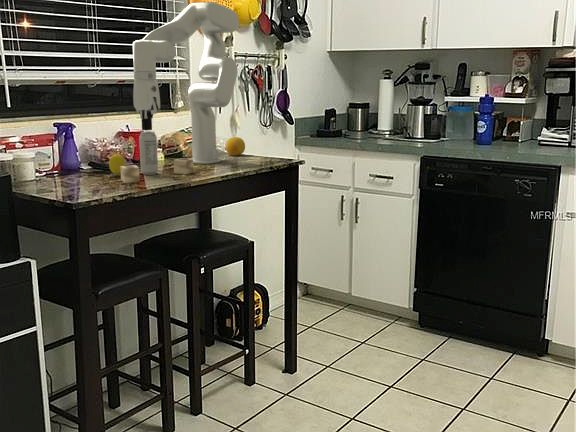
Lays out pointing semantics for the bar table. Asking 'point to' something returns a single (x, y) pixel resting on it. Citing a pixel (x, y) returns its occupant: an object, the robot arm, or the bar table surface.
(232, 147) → the fruit
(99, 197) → the bar table surface
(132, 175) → the maple block
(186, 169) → the maple block
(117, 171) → the lemon
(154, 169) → the energy drink can
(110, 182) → the bar table surface
